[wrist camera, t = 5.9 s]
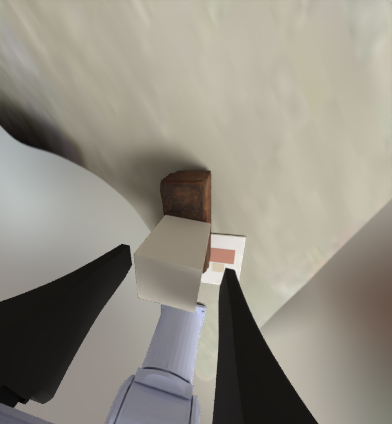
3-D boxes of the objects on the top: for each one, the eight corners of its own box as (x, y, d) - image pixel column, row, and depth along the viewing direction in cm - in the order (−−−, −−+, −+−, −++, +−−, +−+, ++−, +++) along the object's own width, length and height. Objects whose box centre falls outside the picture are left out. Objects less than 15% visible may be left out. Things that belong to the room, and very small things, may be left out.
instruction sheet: (237, 286, 22) (237, 287, 22) (197, 280, 23) (197, 281, 23) (245, 236, 18) (245, 237, 18) (196, 232, 19) (196, 233, 19)
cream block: (204, 259, 14) (194, 312, 10) (164, 250, 15) (138, 298, 10) (211, 223, 13) (202, 269, 8) (165, 214, 13) (133, 254, 9)
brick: (174, 169, 16) (155, 181, 12) (212, 169, 15) (206, 181, 11) (182, 249, 21) (171, 277, 16) (211, 252, 20) (207, 282, 16)
